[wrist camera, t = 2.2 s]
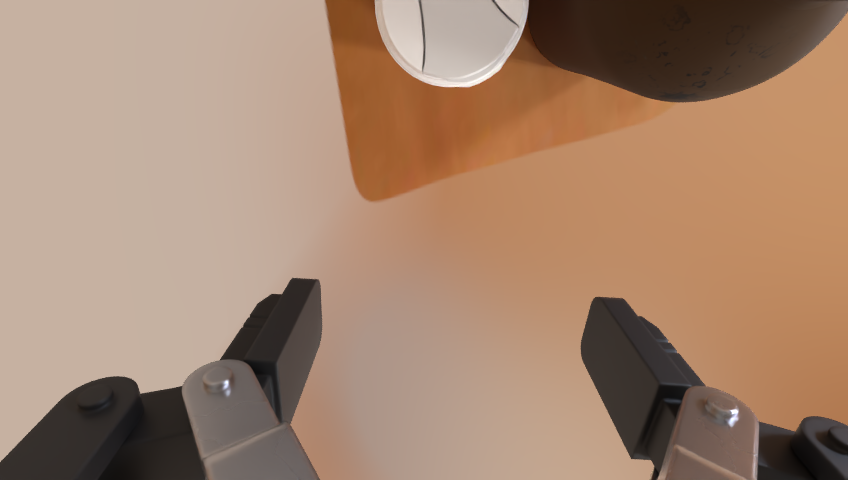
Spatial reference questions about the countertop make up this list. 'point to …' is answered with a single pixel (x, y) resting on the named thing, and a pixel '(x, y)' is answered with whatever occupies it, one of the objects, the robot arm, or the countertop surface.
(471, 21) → the paper cup
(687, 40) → the brown bottle
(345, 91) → the countertop surface
